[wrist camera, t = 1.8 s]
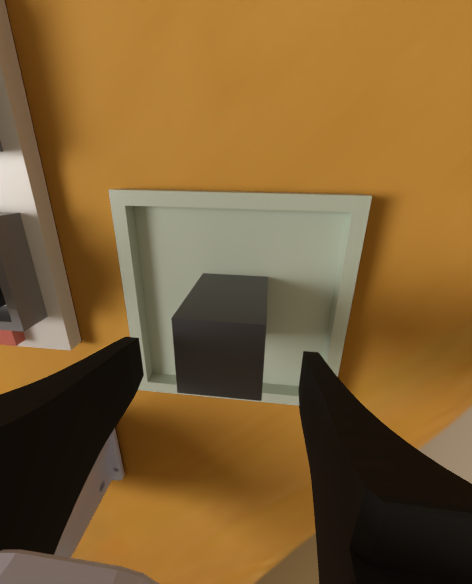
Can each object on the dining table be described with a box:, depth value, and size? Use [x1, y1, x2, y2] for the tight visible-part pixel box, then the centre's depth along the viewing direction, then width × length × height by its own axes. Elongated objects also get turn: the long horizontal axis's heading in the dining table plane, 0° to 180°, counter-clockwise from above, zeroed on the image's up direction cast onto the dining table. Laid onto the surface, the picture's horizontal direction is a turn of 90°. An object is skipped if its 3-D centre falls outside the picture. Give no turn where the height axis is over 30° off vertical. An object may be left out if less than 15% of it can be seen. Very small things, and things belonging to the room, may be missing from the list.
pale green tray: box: [109, 189, 372, 406], centre depth 18 cm, size 14×14×1 cm
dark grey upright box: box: [171, 273, 268, 401], centre depth 15 cm, size 4×4×6 cm
